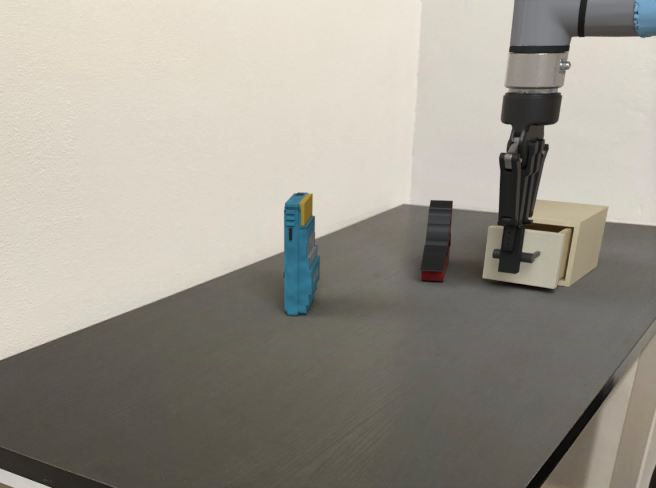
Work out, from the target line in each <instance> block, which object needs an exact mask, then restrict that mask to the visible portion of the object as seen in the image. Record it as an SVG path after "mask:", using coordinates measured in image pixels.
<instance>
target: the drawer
mask: <svg viewBox="0 0 656 488" xmlns="http://www.w3.org/2000/svg"><path fill="white" fill-rule="evenodd" d="M524 226H526V228H525V235H524V242H523V249H522V256H521V263H520V270H519V272H518V273H517V274H510V273H503V272H498V266H499V258H500V251H501V243H502V235H503V228H504V226H498V225H495V224H494V225H493V224H492V225H489V226H488V228H487V237H486V245H485V253H484V262H483V269H482V279H484V280H485V279H486V280H491V281H492V280H493V281H499V282H505V283H512V284H520V285H526V286H532V287H539V288H545V289H551V290H555V289H556V288H557V287H558V285H557V282H558V280H560V279H561V278H562V277H564V276H565V275H566V271H567V266H568V260H569V254H570V249H571V243H572V237H573V232H574V227H567V226H558V225H549V224H540V223H532V225H526V224H524Z"/></svg>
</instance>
